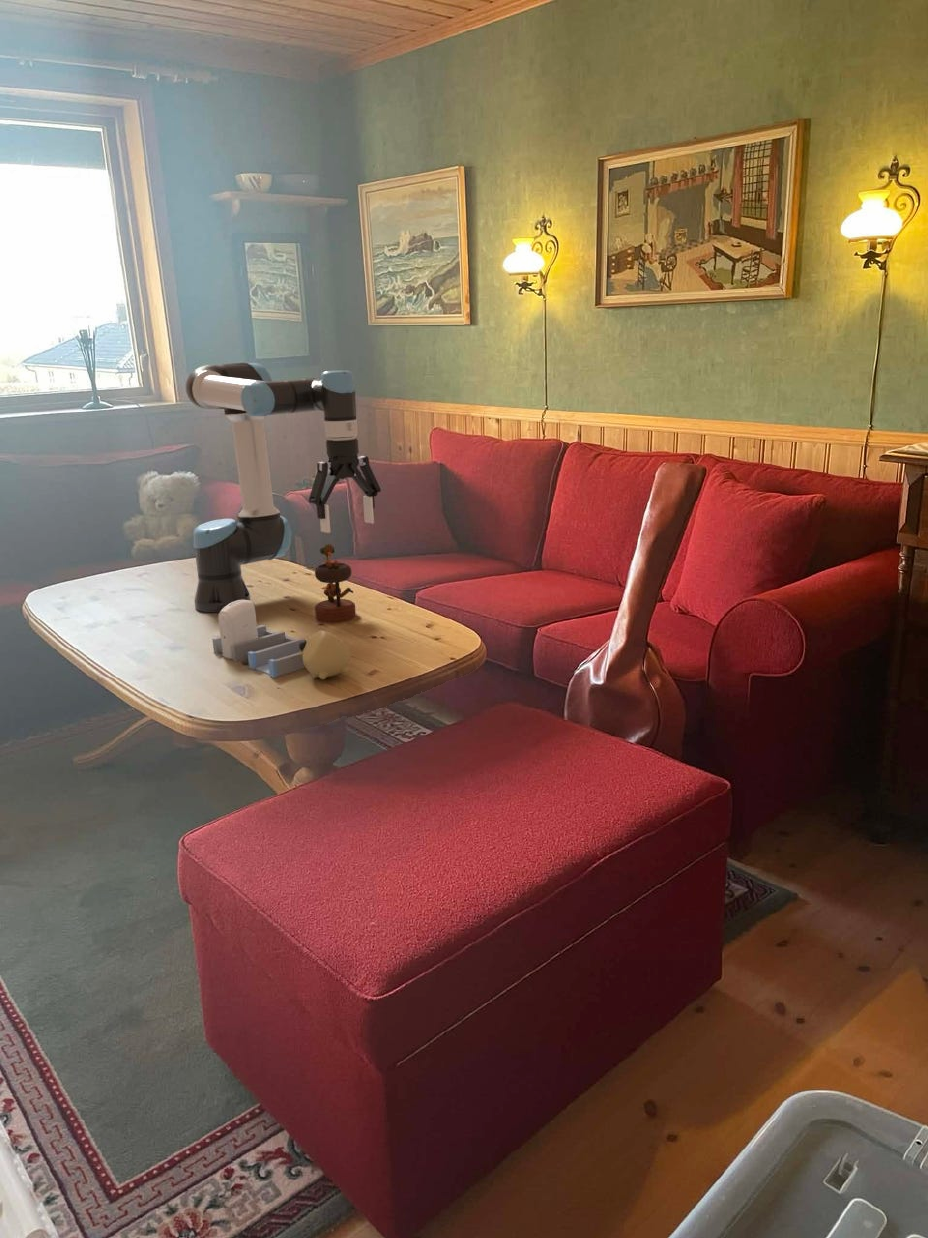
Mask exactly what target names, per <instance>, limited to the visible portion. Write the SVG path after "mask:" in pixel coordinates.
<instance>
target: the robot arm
mask: <svg viewBox="0 0 928 1238" xmlns="http://www.w3.org/2000/svg"><path fill="white" fill-rule="evenodd" d="M354 378H355V377H354V374H353V372H352V371H350V370H325V371H323V372H321V378H320V379H319V378H314V377H311V378H303V379H294V380H293V379H291V380H282V381H281V380H280V381H279V380H278V381H273V379H272V377H271V374H270V373H269V371H268V370H267V369H266V367H265V366H264V365H262V364H260V363H258V362H237V363H235V362H234V363H219V364H214V363H213V364H206V365H201V366H199V367H197V368H195V369H194V370H193V371H192V372H191V373H190V374H189V376H188V377H187V379H186V382H185V392H186V395H187V397H188V399H189V401H190V402H191V403H192V404H194V405H195V406H197V407H198V408H202V409H206V410H224V416H225V417H226V418H227V419H228V420H230V422H231V427H232V428H231V429H232V437H233V443H234V444H233V445H234V451H235V452H234V453H235V460H236V467H237V475H238V482H239V489H240V490H239V491H240V499H241V507H242V508H241V510H240V512H239V513H238V514H237V517H238V522H236V520H235V519H234V518H221V519H214V520H210V521H206V522H204V523H201V524H199V525H198V526H197V527H195V529H194V531H193V548H194V555H195V562H196V569H197V570H196V571H197V579H198V581H197V585H196V592H195V597H194V608H195V610H197V611H199V612H202V613H220V611H221V610H222V609H223V608H224V607H225V606H227V605H228V604H230V603H232V602H234V601H237V600H249V601H251V602H252V600H251V594H250V592H249V590H248V587H247V585H246V583H245V580H244V579H243V576H242V567H241V565H242V566H243V565H247V564H253V563H256V562H263V561H272V560H274V559H278V558H281V557H283V556H285V555H286V554H287V552H288V550H289V548H290V545H291V540H292V531H291V527H290V525H289V521H288V520H287V518H286V517H284V516H281V513H280V510H279V508H277V507H276V506H275V505H274V497H273V489H272V481H271V473H270V465H269V457H268V456H269V455H268V447H267V441H266V432H265V431H266V430H265V424H264V419H265V417H268V416H273V415H284V414H285V415H286V414H297V413H300V414H301V413H309V412H310V413H311V412H323V419H324V432H325V433H324V435H325V436H324V437H325V438H326V441H325V445H326V447H325V448H326V455H327V457H328V461H327V462H325V461H318V462H317V463H316V464H317V466H316V467H317V469H316V475H315V478H314V481H313V484H312V488H311V490H310V494H309V498H308V503H310V504H314V505H315V506H316V513H317V514H316V515H317V518H318V519H319V523H320V532H321V533H326V534H330V533H331V522H330V510H329V509H330V505H329V504H326V503H327V501H328V500H329V497H330V496H331V494H332V492H333V490H334V489H335V487H336V484H337V483H338V482H340V480H345V479H347V478H349V479H350V478H352V479H353V481H355V483H356V484H357V486H358V487H359V488H360V489H361V490H362V491H363V493H364V494H365V495H362V502H363V503H362V505H363V517H364V523H367V524H374V523H375V517H374V516H375V515H374V509H375V508H376V506H375V497H377V496H378V493H380V492H381V491H382V489H381V487H380V485H379V482H378V480H377V478H376V476H375V473H374V472H373V469H372V468H371V466H370V460H369V459H370V458H369V456H367V455H365V456H364V455H359V452H360V451H359V440H358V438H356V437H357V436H358V421H357V420H358V419H357V403H356V402H357V401H356V386H355V379H354ZM358 466H359V468H360V470H361V471H360V470H359V469H358Z"/></svg>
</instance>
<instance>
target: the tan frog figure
mask: <svg viewBox="0 0 928 1238" xmlns="http://www.w3.org/2000/svg"><path fill="white" fill-rule="evenodd" d="M299 648H300V653H301V655H302V656H303V663H304V665H305V667H306V668H305V669H306V670H307V671H308V672H309V673H310V675H311V676H310V677H311V678H312V679H315V680H316V679H317V678H318V677H319V679H320V680H325V679H326V678H330V677H335V676H336V675H339V674H340V673H341V674H347V673H348V672H349V668H348V665H349V662H350V659H351V651H350V649H349V647H348V645H346V644H345V642H344V641H342V640H341V639H340V638H339V637H337V636H336V635H335V634H333V633H331V632H328V631H326V630H318V631H317V632H315V633H313V635H310V636H306V638H305V640H303V641H302V642H300V644H299Z"/></svg>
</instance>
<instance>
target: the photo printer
mask: <svg viewBox="0 0 928 1238" xmlns="http://www.w3.org/2000/svg"><path fill="white" fill-rule="evenodd" d="M256 613H257V612H256V607H255V605H254V603H253V601H252V600H251V601H249V600H237V601H234V602H232V603H230V604H228V605H227V606H225V607H224V608H223V609H222V610H221V611H220V612H218V615H217V616H218V617H217V619H218V625H219V634H220V635H219V636H221V644H222V652H221V653H222V656H223V657H224V658H225V659H230V660H232V651H231V645H235V644H238V643H242V642H245V641H249V640H252V639H256V638H258V631H257V626H258V623H257V615H256Z"/></svg>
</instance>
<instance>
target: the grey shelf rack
mask: <svg viewBox="0 0 928 1238" xmlns="http://www.w3.org/2000/svg"><path fill="white" fill-rule="evenodd" d="M257 631H258V638H256V639H252V640H249V641H245V642H242V643H238V644H235V645H231V651H232V659H231V660H232V661H234V662H237V661H240V662H241V663H242V664H243V665H247V664H248V668H249V670H252V671H253V670H257V671H259V672H261V673H264V674H267V675H269V677H271V678H272V679H276V678H279V677H281V676H283V675H287V674H290V673H293V672H296V671H299V670H303V669H307V668H306V667H305V665H304V663H303V656H302V655H301V653H300V648H299V644H300V642H302V641H303V640H306V638H305V637H301V638H294V637H291V636H289V635H286V631H283V630H281V631H278V632H276V631H274V630H271V629H267V625H265V624H260V625H257ZM212 646H213V647H212V648H213V653H214V654H222V653H223V652H222V644H221V635H219V636H217V637H216V636H215V637H214V638H212Z"/></svg>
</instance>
